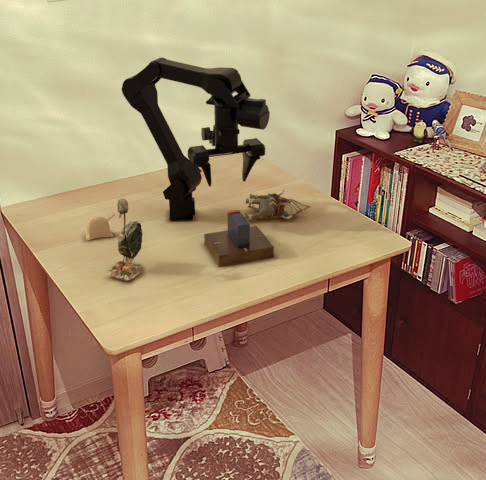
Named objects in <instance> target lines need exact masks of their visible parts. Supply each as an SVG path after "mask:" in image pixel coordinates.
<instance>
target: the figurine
mask: <svg viewBox="0 0 486 480" xmlns="http://www.w3.org/2000/svg"><path fill="white" fill-rule="evenodd" d="M284 193H285V189H284V188H283V189H282V191H281V192H280V193H276V192H273V193H269V192H268V194H264V195H263V194H261V195H258V194H252V193H249V195H248V198H245V204H246V205H247V208H248V209H249V210H250V211H254V212H256V214H251V213H249V214H247V211H244V217H245V219H246V220H248V221H251V220H257V221H258V220H259V221H261V220H262V221H263V220H265V219H269V218H271V219H272V218H275V219H276V220H277V219H278V218H281V219H285V220H287V221H288V220H290V219H292V218H293V217H295V216H297V215H299V214H300V213H302V212H304V211H306V210H307V209H309V208H311V205H307V204H303V203H301V202H299V201H297V200H295V199H292V198H286V197H283V196H282V195H283V194H284ZM255 205H258V207H256V206H255ZM286 206H289V207H290V210H291V214H289V211H286V210H285V207H286Z"/></svg>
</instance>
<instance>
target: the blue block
mask: <svg viewBox="0 0 486 480" xmlns="http://www.w3.org/2000/svg"><path fill="white" fill-rule="evenodd" d="M226 214H227V230H228V235H229V236H230V238H231V239H232V240H233V242H234V243H235V245H236V246H237V247H238V248H242V247H248V246H250V227H251V224H250V222H249V220H248V219H247V218H245V215H243V214H242V212H241V211H240V210H239V209H235V210H228V211H227V213H226Z"/></svg>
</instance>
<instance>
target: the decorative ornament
mask: <svg viewBox="0 0 486 480" xmlns="http://www.w3.org/2000/svg"><path fill="white" fill-rule="evenodd" d="M115 216H116V213H112V214H110V215H109V216H108V217H107V218H106V217H104V216H102V215H97V216H92V217H91V218H89V219H88V221H87V223H86V228H85V230H86V231H85V232H86V234H85V239H86V241H91V240H94V239H98V238H105V237H106V238H107V237H108V238H113V237H114V234H113V233H112V231H111V228H110V223H109V221H111V219H113V218H114V217H115Z"/></svg>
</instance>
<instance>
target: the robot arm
mask: <svg viewBox="0 0 486 480" xmlns="http://www.w3.org/2000/svg"><path fill="white" fill-rule="evenodd" d="M161 79H164V80H167V81H173V82H177V83H179V84H185V85H189V86H193V87H197V88H199V89H202V90H203V91H204V92H205V93H207V94H208V95H210V97H209V98H208V99H207V100H206V101H205V104H206V105H210V106H214V107H213V108H214V110H213V111H214V113H213V114H214V124H213V127H212V130H211V127H210V126H207V127H201V129H200V130H201V131H200V132H201V133H200V134H201V141H203V142H204V141H208V143H209V144H211V146H212V147H214V148H206V147H205V145H203V144H202V145H193V146H189V147H188V149H187V156H186V155H184V153H183V151H182V149H181V147H180V145H179V143H178V141H177V139H176V138H175V136H174V133H173V131H172V129H171V127H170V126H169V123H168V121H167V119H166V117H165V116H164V114H163V112H162V110H161V108H160V106H159V99H158V98H159V97H158V95H159V94H158V90H157V87H156V84H157V83H159V81H161ZM121 93H122V96H123V97H124V99H125V100H126V101H127V103H128V104H129V106H130V107H131V108H133V109H134V110H135V111H137V112H138V113H139V114H140V115H141V117H142V118H143V121H144V122H145V125H146V126H147V129H148V130H149V132H150V134H151V136H152V138H153V139H154V141H155V143H156V145H157V147H158V150H159V151H160V154H161V155H162V157H163V159H164V161H165V163H166V167H167V179H168V181H169V186H167V187H166V188H165V189H164V190H163V191H162V195H163V196H164V199H165V200H167V201H168V207H169V208H168V209H169V214H168V216H169V219H168V220H169V221H170V222H178V221H179V222H180V221H181V222H182V221H194V220H195V219H194V216H195V215H196V200H195V199H196V198H195V197H194V196H193V192H196V190H197V187H198V186H200V184H201V182H202V179H203V177H202V172H203V176H204V178H205V180H206V183H207V185H208V187H212V168H211V163H210V162H209V161H210V158H214V157H215V158H216V157H221V156H230V155H236V154H242V171H241V172H242V173H241V177H242V178H241V180H242V182H245V183H246V180H247V179H248V177H249V175H250V173H251V170H253V169H252V168H253V167H254V166H255V164H256V162H257V161H258V160H261V157H264V156H265V155H266V145H265V144H264V143H263V142H262V141H261V140H259V139H258V138H257V137H255V138H246V139H244V140H243V142H242V144H239V135H240V129H239V126H240V127H243V128H248V129H249V128H250V129H256V130H263V131H264V130H265V129H266V128H267V126H268V124H269V121H270V116H271V114H270V113H271V112H270V108H269V106H268V104H267V100H266V99H264V98H251V94H250V92H249V90H248V88H247V86H246V85H245V83H244V82H243V80H242V77H241V74H240V73H239V71H238V70H237V69H236V68H234V67H221V66H219V67H211V68H210V67H208V68H207V67H201V66H197V65H193V64H188V63H184V62H180V61H175V60H171V59H167V58H166V57H158V58H156V59H153V60H152V61H150V62H149V63H148V64H147V65H146V66H145V67H144V68H143V69H142V70H140V71H139V72H137V73H136V74H134V75H131V76H130V77H128V78H126V79H125V80H123V82H122V85H121ZM234 93H236V94H235V95H233V94H234Z"/></svg>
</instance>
